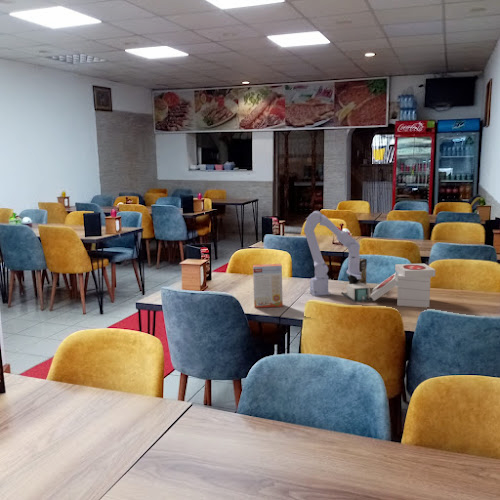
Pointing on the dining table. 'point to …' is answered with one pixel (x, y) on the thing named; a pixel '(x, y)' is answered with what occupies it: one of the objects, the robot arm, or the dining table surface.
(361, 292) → the jaw block
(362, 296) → the pin base
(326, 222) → the robot arm
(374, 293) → the pizza box stack
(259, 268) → the cracker box
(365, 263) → the coffee box
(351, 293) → the housing cover
